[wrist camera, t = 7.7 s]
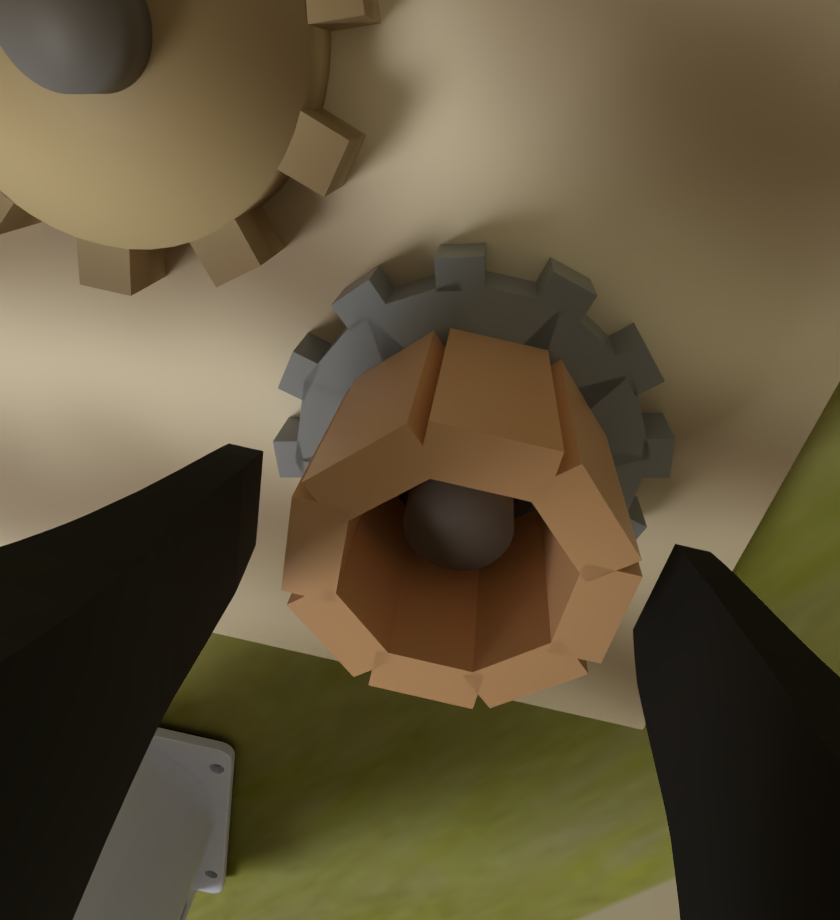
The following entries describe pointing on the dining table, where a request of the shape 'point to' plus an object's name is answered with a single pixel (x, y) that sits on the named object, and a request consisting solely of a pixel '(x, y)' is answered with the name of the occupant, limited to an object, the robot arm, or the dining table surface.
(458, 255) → the planet gear
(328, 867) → the dining table surface
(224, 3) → the carrier
